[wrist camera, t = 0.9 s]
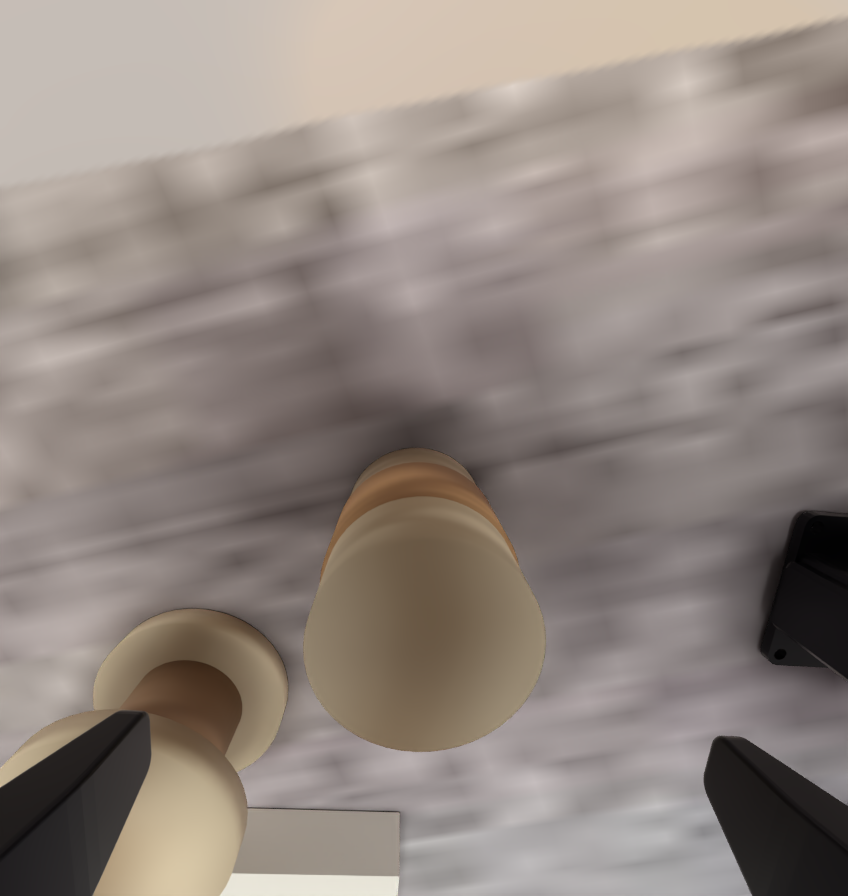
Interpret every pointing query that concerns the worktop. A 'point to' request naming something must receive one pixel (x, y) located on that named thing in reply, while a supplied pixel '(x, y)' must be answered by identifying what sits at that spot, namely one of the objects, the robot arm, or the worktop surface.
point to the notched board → (317, 854)
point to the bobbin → (181, 746)
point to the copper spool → (421, 610)
